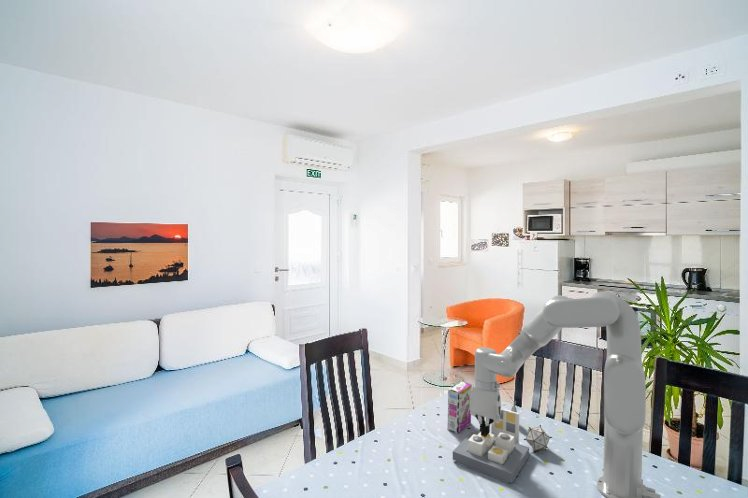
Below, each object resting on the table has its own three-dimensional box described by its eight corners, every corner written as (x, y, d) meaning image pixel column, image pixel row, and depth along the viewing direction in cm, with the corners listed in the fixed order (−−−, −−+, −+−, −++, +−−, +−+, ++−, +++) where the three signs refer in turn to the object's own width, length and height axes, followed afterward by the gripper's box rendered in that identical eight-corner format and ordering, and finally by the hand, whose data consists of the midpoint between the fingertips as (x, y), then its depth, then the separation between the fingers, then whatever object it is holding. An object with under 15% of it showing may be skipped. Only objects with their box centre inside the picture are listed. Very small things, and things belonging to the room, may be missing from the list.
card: (520, 443, 141) (521, 411, 140) (518, 446, 138) (518, 414, 138) (494, 434, 147) (494, 403, 146) (491, 437, 144) (491, 406, 144)
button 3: (514, 450, 132) (514, 435, 131) (509, 457, 128) (509, 441, 128) (500, 445, 135) (500, 431, 134) (495, 452, 131) (495, 437, 130)
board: (529, 457, 132) (529, 447, 132) (512, 484, 117) (512, 473, 117) (473, 438, 144) (473, 429, 144) (452, 461, 130) (452, 451, 129)
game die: (543, 461, 135) (556, 449, 129) (519, 451, 137) (531, 438, 131) (543, 438, 142) (556, 425, 136) (520, 428, 144) (532, 415, 138)
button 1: (486, 452, 130) (487, 437, 130) (481, 459, 126) (481, 443, 126) (473, 448, 133) (473, 433, 133) (467, 454, 129) (467, 439, 129)
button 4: (507, 465, 126) (507, 449, 126) (502, 472, 122) (502, 456, 122) (493, 460, 129) (493, 444, 129) (487, 467, 125) (488, 451, 125)
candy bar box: (458, 434, 147) (458, 392, 146) (447, 430, 150) (447, 389, 149) (472, 423, 155) (472, 383, 155) (460, 419, 159) (461, 380, 158)
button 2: (494, 448, 136) (494, 434, 136) (489, 454, 132) (489, 439, 132) (481, 444, 139) (481, 429, 139) (476, 450, 135) (476, 435, 135)
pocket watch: (492, 422, 156) (493, 398, 155) (508, 418, 159) (508, 395, 159) (507, 432, 148) (508, 407, 148) (523, 427, 152) (524, 402, 152)
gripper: (510, 385, 133) (509, 437, 134) (469, 375, 142) (469, 423, 143) (503, 392, 127) (502, 446, 128) (461, 382, 136) (460, 432, 137)
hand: (484, 434), depth 135 cm, fingers closed
